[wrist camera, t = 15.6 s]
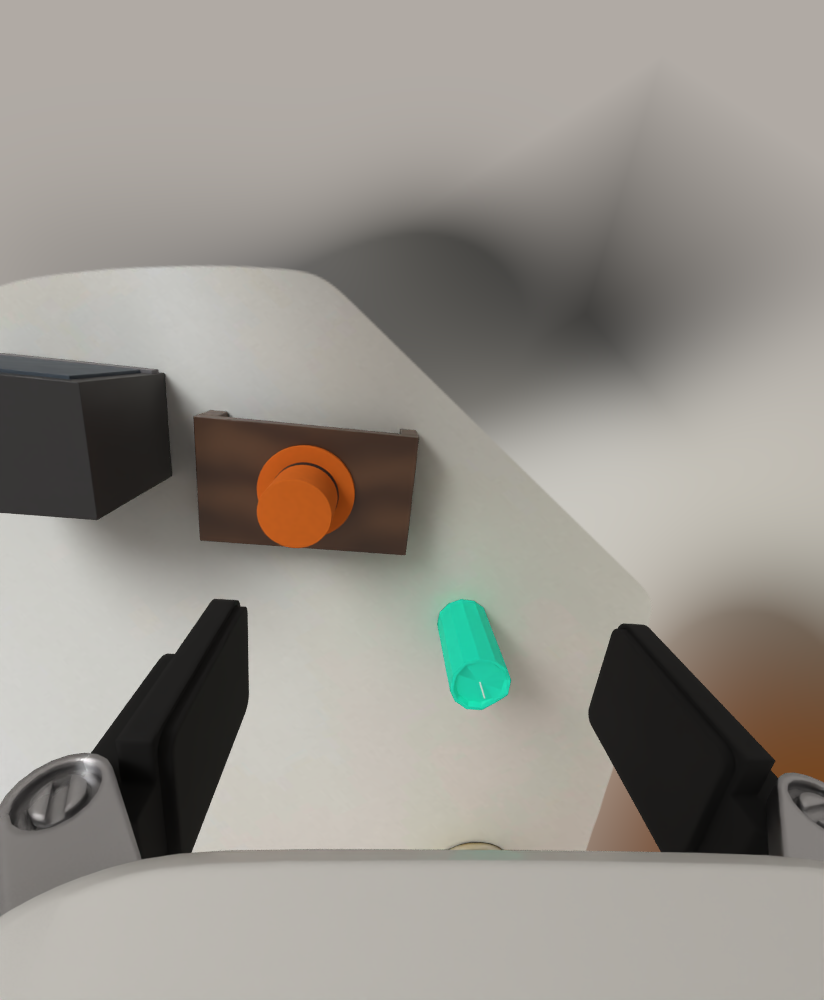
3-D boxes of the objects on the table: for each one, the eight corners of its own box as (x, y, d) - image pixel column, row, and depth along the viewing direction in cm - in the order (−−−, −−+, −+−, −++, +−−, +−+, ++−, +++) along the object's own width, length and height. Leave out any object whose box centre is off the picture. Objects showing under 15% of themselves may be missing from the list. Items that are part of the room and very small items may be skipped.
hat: (257, 440, 39) (236, 455, 33) (358, 449, 40) (353, 466, 34) (258, 532, 42) (238, 560, 36) (351, 539, 43) (346, 567, 37)
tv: (2, 352, 39) (-155, 353, 28) (164, 369, 40) (78, 377, 29) (22, 463, 42) (-110, 504, 31) (172, 475, 43) (97, 520, 32)
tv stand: (210, 410, 42) (193, 416, 38) (416, 430, 43) (419, 438, 40) (215, 524, 45) (199, 540, 42) (403, 539, 47) (405, 555, 43)
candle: (438, 644, 52) (453, 726, 41) (435, 602, 50) (450, 675, 39) (488, 639, 52) (516, 719, 41) (486, 596, 50) (516, 668, 39)
